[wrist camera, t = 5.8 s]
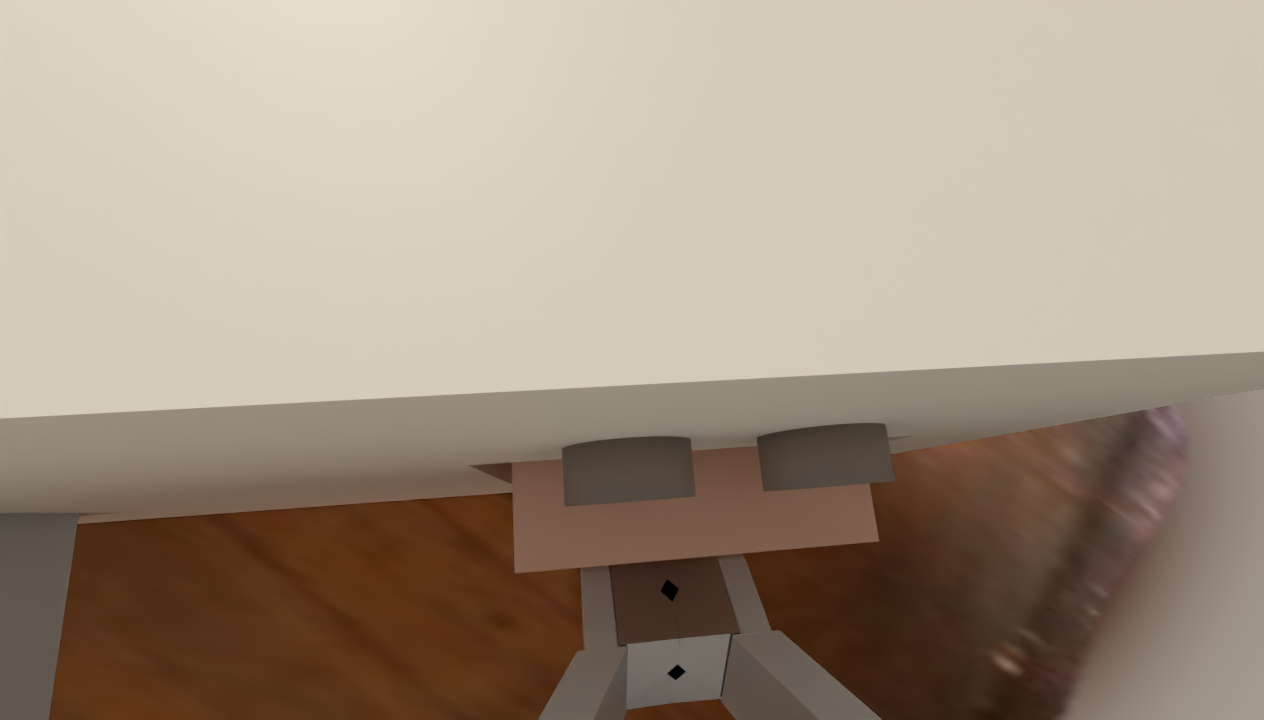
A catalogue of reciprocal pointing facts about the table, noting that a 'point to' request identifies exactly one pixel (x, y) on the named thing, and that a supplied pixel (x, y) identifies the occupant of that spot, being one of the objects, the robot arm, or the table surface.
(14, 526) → the button one
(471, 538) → the table surface
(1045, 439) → the table surface
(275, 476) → the block
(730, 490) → the button two
